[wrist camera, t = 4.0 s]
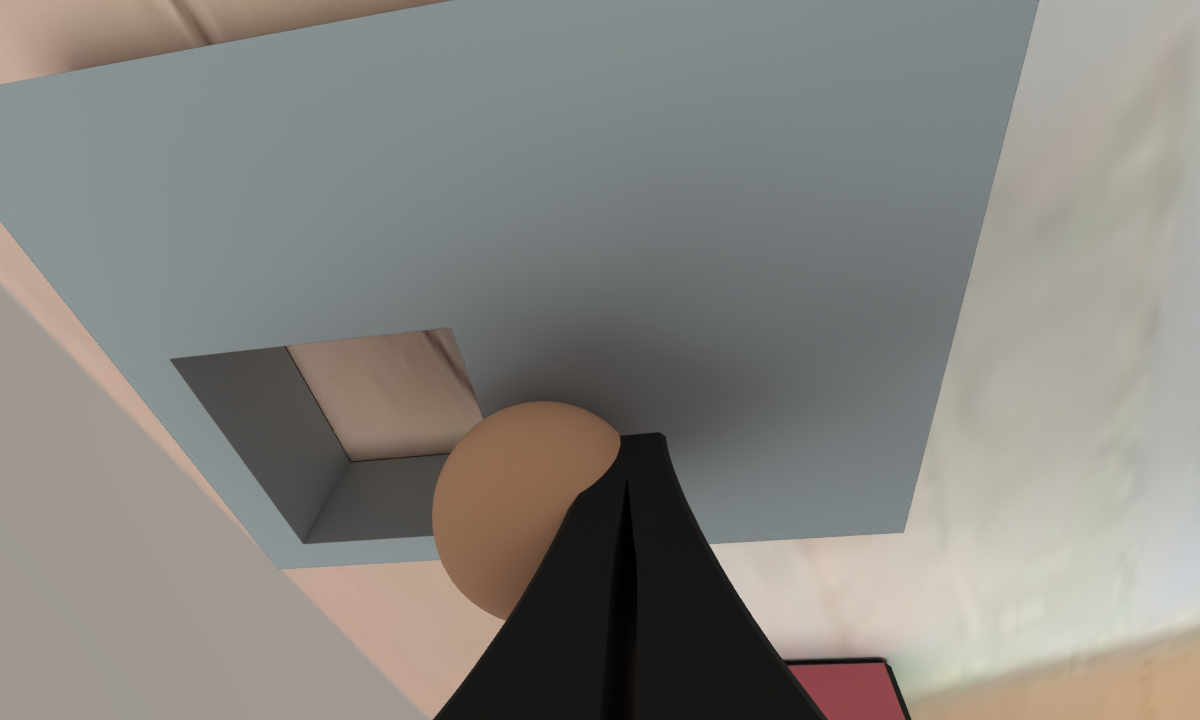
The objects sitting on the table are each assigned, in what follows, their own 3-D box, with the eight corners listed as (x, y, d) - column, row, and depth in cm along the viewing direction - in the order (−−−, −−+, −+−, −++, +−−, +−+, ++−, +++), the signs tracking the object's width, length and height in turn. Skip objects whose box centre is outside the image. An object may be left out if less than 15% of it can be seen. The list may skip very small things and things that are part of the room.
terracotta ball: (672, 378, 10) (560, 562, 7) (686, 524, 12) (606, 708, 9) (493, 347, 11) (346, 483, 9) (534, 479, 14) (427, 622, 11)
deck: (945, -87, 9) (1068, -115, 6) (859, 446, 16) (903, 532, 13) (69, 76, 11) (-96, 102, 8) (327, 487, 18) (278, 569, 15)
